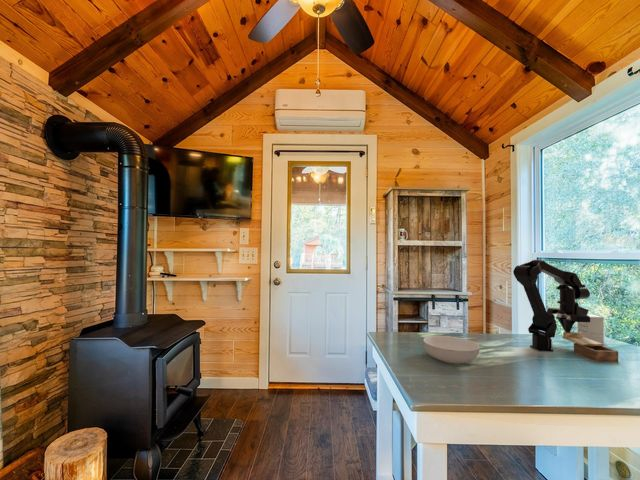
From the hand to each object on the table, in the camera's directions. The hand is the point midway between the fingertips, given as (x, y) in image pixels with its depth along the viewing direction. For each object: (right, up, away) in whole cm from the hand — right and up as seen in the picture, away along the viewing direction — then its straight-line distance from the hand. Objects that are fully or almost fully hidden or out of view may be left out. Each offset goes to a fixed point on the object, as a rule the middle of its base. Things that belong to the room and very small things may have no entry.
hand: (567, 333), depth 148 cm
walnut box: (0, -6, -15) cm, 16 cm away
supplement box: (+19, -7, +10) cm, 22 cm away
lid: (0, -1, -8) cm, 8 cm away
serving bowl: (-62, -5, -20) cm, 65 cm away
